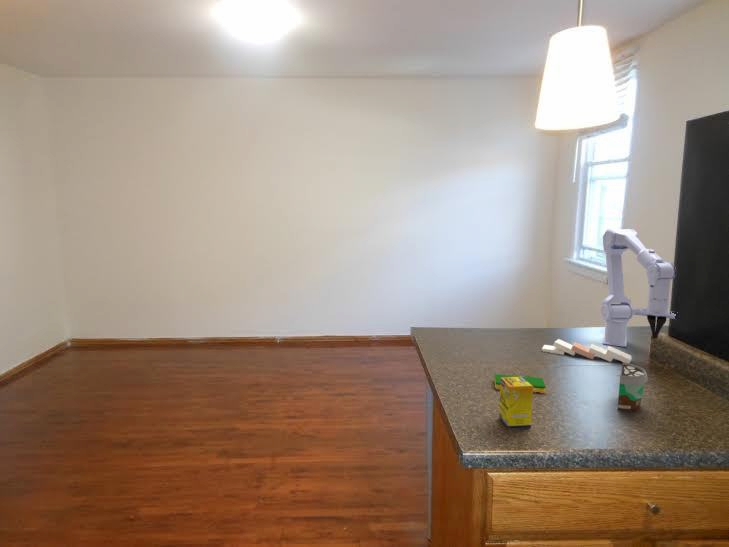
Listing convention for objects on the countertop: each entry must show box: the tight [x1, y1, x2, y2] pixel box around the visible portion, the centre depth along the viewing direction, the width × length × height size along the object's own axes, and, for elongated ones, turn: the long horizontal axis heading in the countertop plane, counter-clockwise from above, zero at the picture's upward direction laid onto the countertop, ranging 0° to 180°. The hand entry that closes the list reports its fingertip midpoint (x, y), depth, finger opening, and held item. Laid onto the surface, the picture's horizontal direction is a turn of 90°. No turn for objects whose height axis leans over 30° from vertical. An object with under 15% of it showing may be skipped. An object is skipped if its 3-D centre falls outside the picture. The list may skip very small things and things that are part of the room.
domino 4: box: [588, 343, 614, 363], centre depth 157 cm, size 2×5×8 cm
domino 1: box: [541, 344, 566, 356], centre depth 166 cm, size 2×5×8 cm
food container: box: [617, 361, 648, 412], centre depth 120 cm, size 12×6×10 cm, turn 148°
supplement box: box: [498, 377, 534, 430], centre depth 111 cm, size 6×6×11 cm
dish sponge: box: [494, 373, 547, 394], centre depth 134 cm, size 7×14×2 cm, turn 76°
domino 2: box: [552, 338, 578, 357], centre depth 164 cm, size 2×5×8 cm
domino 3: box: [571, 341, 596, 360], centre depth 160 cm, size 2×5×8 cm
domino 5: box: [605, 345, 632, 364], centre depth 155 cm, size 2×5×8 cm
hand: (654, 337), depth 152 cm, fingers closed
